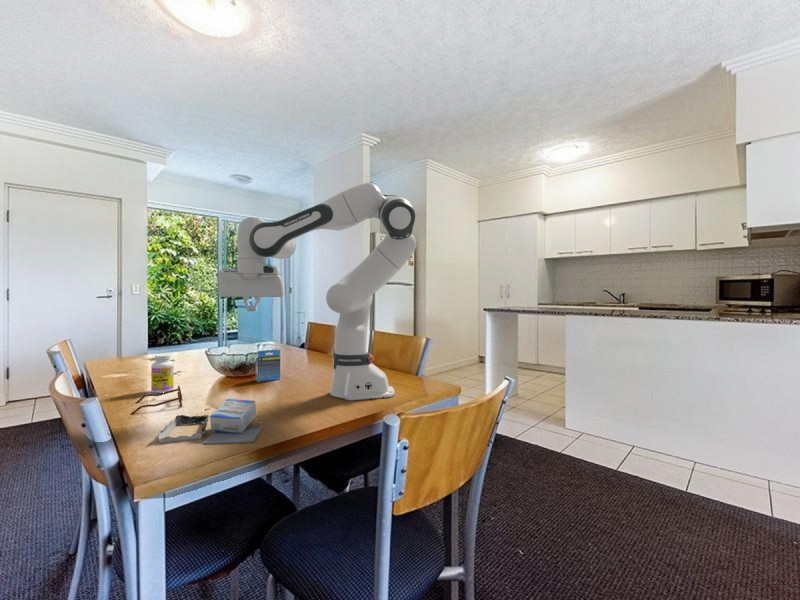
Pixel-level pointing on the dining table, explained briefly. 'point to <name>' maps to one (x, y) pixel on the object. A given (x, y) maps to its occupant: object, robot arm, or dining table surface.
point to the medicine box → (233, 416)
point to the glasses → (161, 402)
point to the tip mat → (236, 435)
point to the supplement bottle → (162, 374)
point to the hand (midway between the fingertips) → (252, 311)
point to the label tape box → (268, 366)
